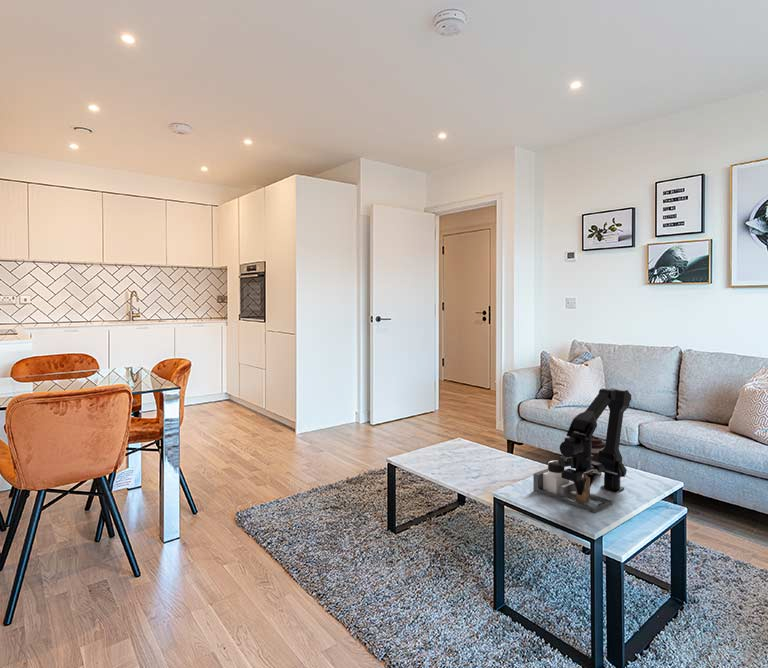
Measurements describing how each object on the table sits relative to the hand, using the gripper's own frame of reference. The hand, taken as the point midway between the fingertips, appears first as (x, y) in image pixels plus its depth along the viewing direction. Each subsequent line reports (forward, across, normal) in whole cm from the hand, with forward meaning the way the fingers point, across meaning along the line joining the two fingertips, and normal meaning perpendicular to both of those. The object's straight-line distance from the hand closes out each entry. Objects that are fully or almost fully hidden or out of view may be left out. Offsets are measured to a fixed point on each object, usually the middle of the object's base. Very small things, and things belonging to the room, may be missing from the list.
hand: (582, 493), depth 181 cm
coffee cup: (+3, -31, -15) cm, 35 cm away
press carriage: (+3, 0, -3) cm, 4 cm away
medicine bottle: (+3, 0, -11) cm, 12 cm away
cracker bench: (+3, 0, -5) cm, 6 cm away
